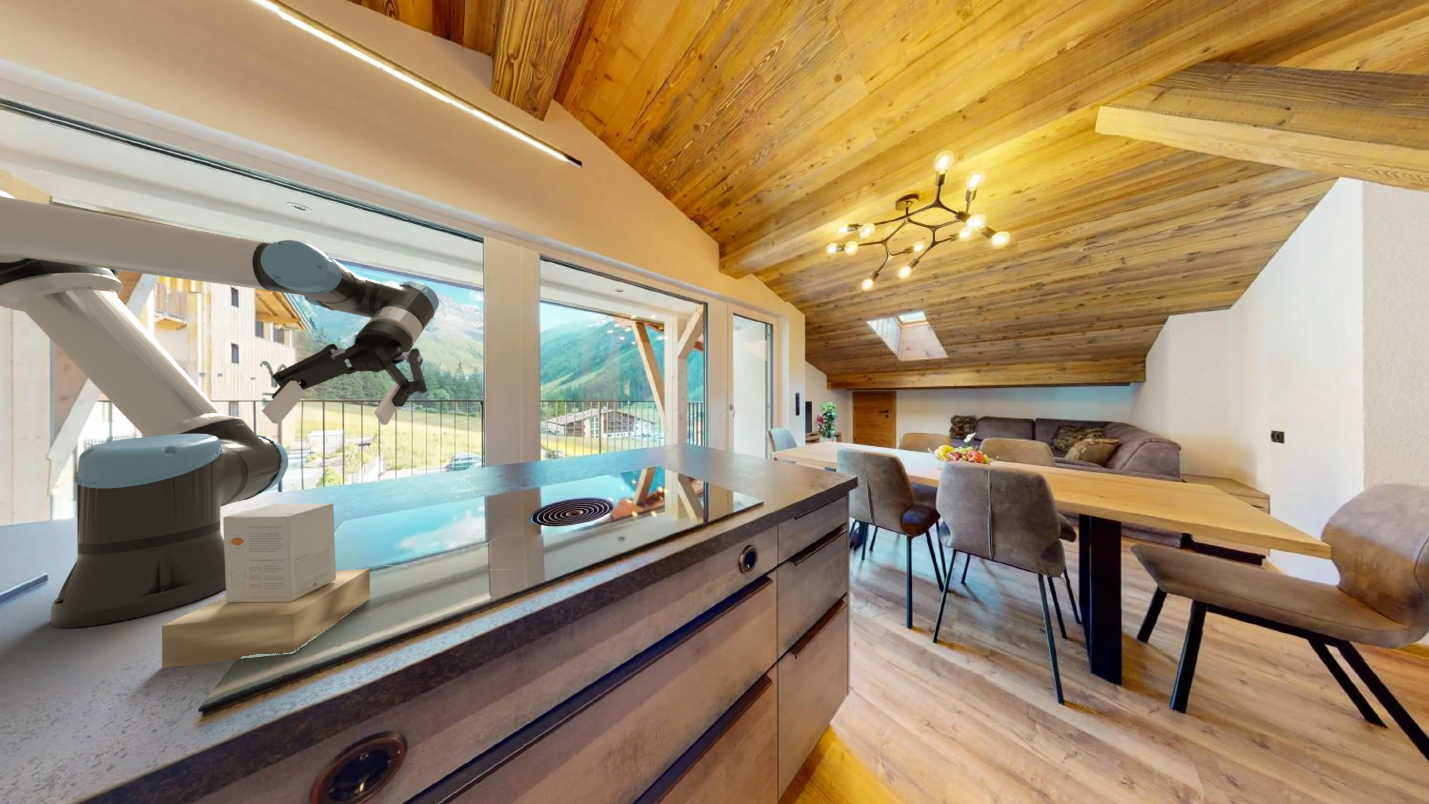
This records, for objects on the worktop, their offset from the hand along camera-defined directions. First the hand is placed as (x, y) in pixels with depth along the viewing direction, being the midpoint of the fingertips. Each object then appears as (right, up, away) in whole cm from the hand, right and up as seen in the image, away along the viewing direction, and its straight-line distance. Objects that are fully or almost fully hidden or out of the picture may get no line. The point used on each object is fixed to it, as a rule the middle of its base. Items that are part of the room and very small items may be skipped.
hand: (327, 418), depth 57 cm
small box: (+4, -22, -9) cm, 24 cm away
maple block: (+4, -27, -9) cm, 28 cm away
